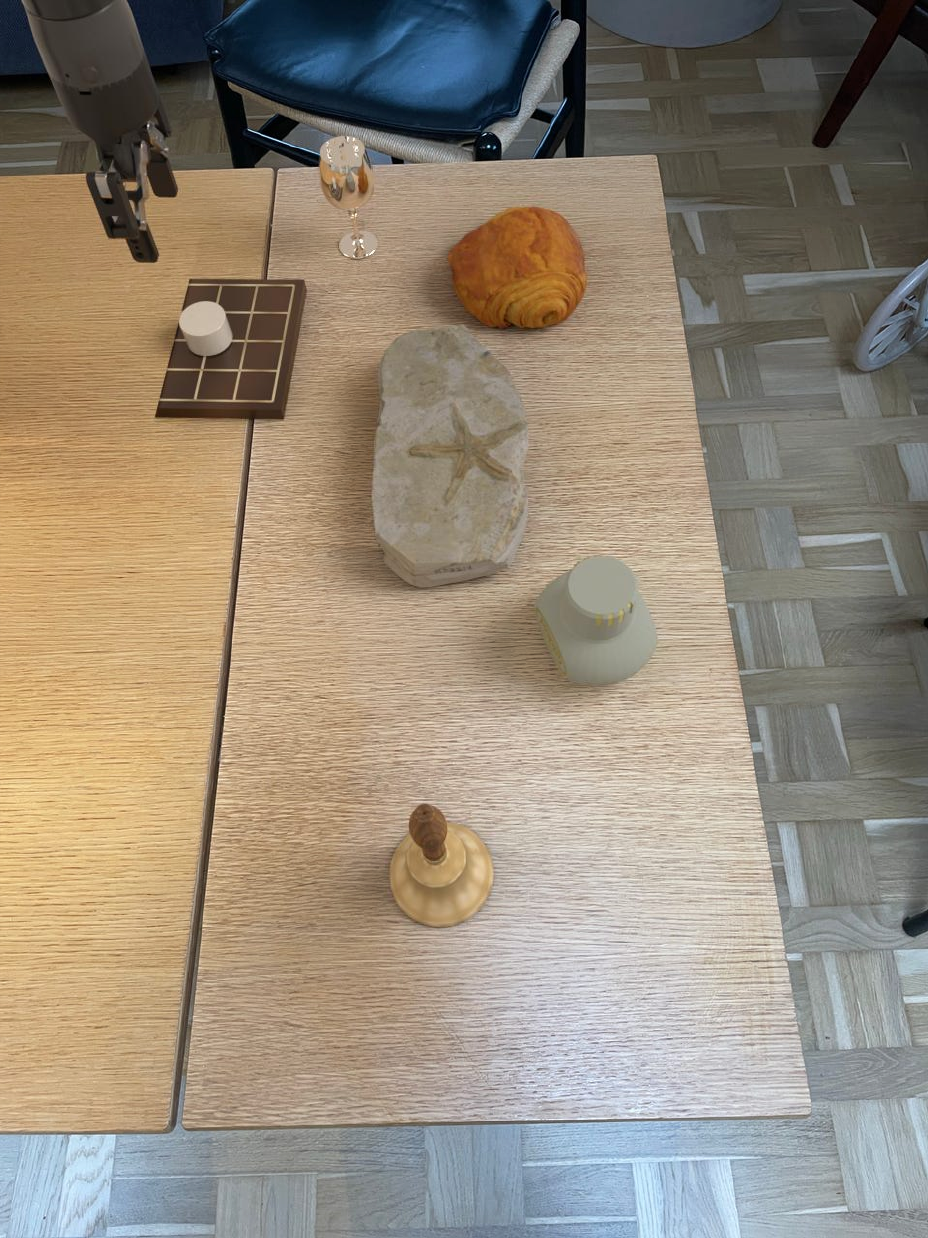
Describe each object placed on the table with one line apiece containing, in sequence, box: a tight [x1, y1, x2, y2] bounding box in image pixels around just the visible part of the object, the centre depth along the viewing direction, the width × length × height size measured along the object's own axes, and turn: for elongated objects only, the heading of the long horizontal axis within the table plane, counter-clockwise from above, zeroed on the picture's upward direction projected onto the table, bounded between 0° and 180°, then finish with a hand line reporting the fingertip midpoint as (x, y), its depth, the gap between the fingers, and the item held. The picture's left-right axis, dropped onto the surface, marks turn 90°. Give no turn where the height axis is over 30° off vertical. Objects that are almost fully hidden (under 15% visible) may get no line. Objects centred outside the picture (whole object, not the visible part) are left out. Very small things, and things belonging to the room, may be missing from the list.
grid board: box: [154, 278, 308, 420], centre depth 104 cm, size 18×18×2 cm
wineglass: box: [318, 135, 379, 260], centre depth 105 cm, size 6×6×12 cm
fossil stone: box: [370, 323, 530, 589], centre depth 94 cm, size 28×15×5 cm, turn 0°
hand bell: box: [388, 803, 495, 928], centre depth 71 cm, size 8×8×16 cm
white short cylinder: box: [178, 301, 233, 356], centre depth 102 cm, size 5×5×3 cm
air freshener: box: [533, 554, 659, 687], centre depth 82 cm, size 11×8×10 cm
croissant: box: [446, 205, 588, 330], centre depth 104 cm, size 14×16×8 cm
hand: (157, 226), depth 90 cm, fingers open, 8 cm apart
